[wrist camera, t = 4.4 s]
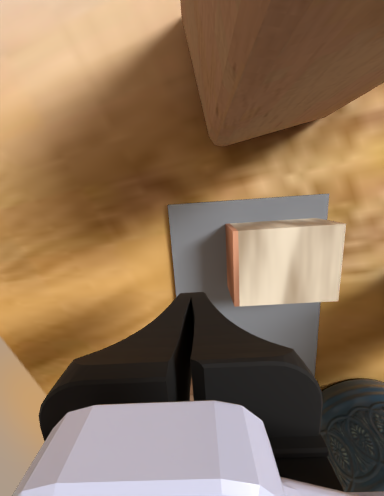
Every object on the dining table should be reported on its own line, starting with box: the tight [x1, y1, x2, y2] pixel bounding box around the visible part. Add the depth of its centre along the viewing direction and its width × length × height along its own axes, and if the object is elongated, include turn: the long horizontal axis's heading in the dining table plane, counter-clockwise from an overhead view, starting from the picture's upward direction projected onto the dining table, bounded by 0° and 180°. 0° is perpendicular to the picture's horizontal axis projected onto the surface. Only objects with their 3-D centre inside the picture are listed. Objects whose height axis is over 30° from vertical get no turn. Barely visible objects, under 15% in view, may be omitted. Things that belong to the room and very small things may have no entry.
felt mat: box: [168, 194, 329, 377], centre depth 22 cm, size 14×20×1 cm
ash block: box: [225, 218, 346, 307], centre depth 18 cm, size 4×6×8 cm
